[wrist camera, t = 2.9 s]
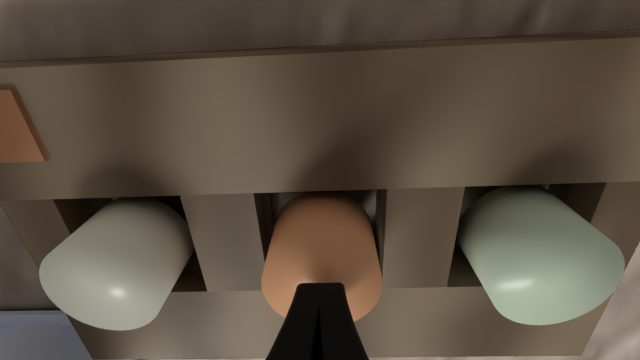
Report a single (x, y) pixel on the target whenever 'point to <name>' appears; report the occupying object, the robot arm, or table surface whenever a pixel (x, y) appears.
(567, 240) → the sage button
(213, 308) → the panel
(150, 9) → the table surface
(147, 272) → the cream button
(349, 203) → the terracotta button
